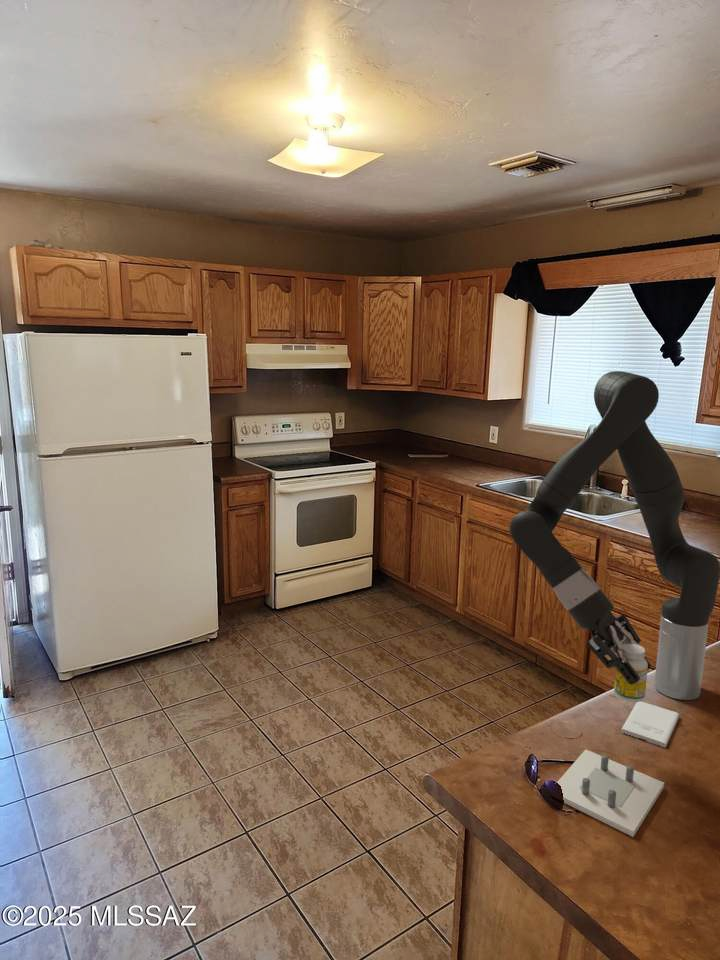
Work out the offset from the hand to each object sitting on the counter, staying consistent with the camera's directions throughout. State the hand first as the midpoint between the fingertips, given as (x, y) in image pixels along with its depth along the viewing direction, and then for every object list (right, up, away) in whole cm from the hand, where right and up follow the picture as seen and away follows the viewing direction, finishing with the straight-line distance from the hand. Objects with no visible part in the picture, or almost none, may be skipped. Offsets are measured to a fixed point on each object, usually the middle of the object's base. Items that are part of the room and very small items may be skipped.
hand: (641, 675), depth 116 cm
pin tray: (-9, -18, -7) cm, 21 cm away
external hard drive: (+7, -14, +12) cm, 20 cm away
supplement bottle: (-1, -5, +2) cm, 5 cm away
